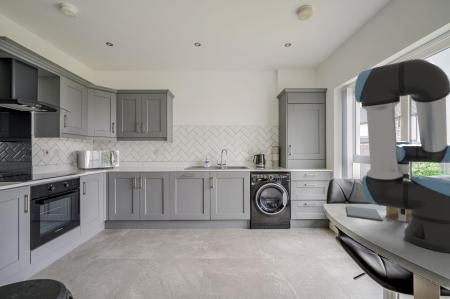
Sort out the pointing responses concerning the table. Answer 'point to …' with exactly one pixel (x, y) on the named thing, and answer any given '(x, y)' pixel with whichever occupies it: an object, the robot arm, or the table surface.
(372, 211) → the mat
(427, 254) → the table surface
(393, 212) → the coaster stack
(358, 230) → the table surface
